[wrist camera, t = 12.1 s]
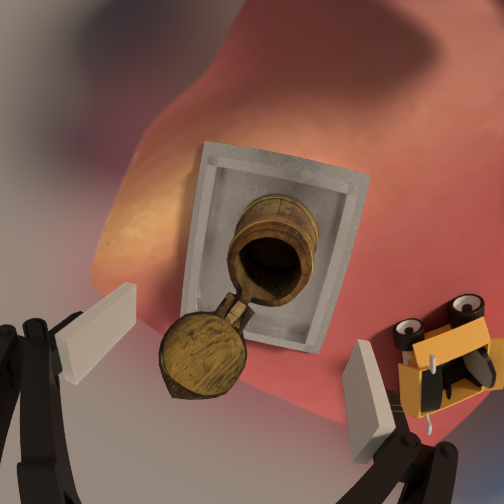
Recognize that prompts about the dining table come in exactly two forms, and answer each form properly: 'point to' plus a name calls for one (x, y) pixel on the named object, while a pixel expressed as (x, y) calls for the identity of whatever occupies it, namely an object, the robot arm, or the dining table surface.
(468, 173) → the dining table surface
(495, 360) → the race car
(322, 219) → the mug bay
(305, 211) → the wooden mug
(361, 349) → the robot arm
